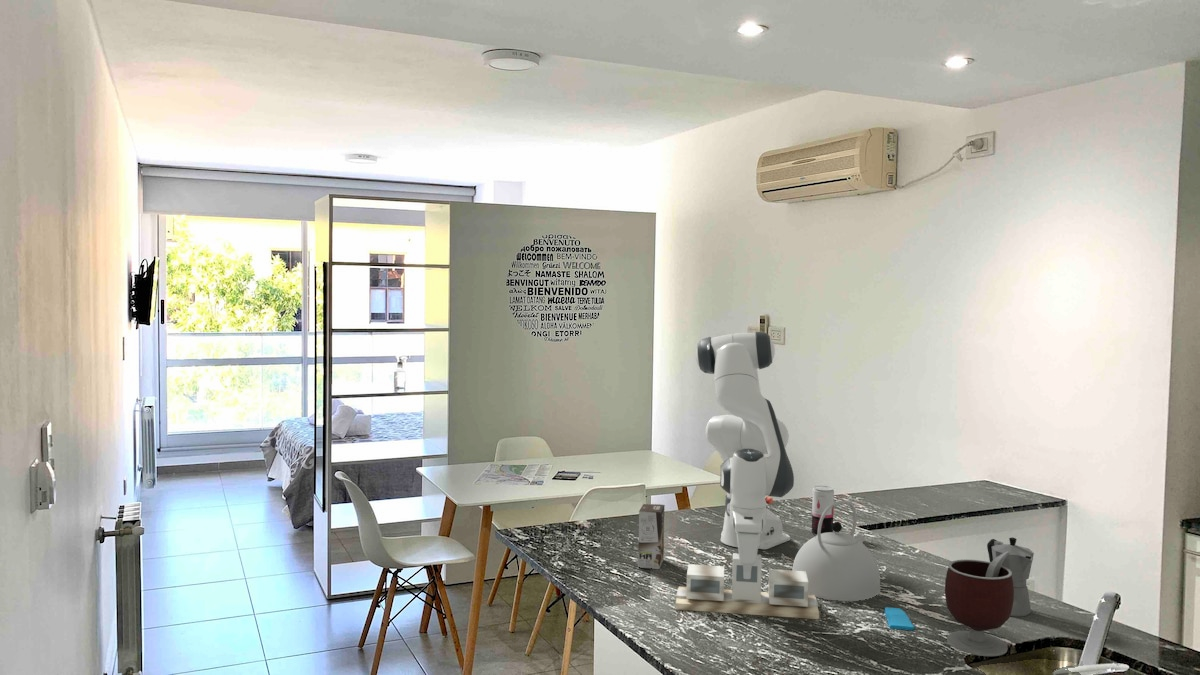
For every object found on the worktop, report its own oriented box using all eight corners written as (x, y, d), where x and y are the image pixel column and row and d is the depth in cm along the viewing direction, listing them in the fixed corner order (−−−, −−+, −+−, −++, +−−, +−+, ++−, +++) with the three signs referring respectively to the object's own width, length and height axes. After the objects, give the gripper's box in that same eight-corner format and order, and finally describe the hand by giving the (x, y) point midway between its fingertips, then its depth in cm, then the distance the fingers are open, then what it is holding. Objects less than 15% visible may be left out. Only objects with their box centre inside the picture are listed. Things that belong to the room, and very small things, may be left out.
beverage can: (837, 535, 275) (838, 488, 274) (823, 538, 271) (824, 491, 270) (821, 530, 280) (822, 484, 279) (807, 533, 276) (808, 487, 276)
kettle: (826, 564, 246) (828, 486, 244) (900, 585, 229) (903, 501, 228) (774, 584, 229) (776, 500, 227) (850, 608, 212) (853, 518, 211)
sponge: (909, 609, 210) (884, 604, 211) (916, 628, 198) (889, 622, 200) (908, 615, 210) (883, 610, 211) (915, 634, 198) (888, 629, 200)
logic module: (731, 592, 216) (732, 553, 215) (760, 594, 215) (761, 554, 214) (731, 598, 211) (732, 558, 211) (760, 600, 210) (761, 560, 210)
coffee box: (660, 569, 239) (661, 512, 238) (637, 567, 241) (638, 510, 240) (664, 559, 248) (665, 504, 247) (642, 557, 250) (643, 502, 249)
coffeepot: (1045, 618, 207) (1049, 544, 206) (1011, 621, 205) (1014, 546, 204) (1002, 595, 222) (1005, 526, 221) (970, 598, 220) (972, 528, 218)
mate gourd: (978, 662, 182) (982, 569, 181) (929, 637, 195) (932, 550, 193) (1031, 650, 188) (1035, 560, 187) (980, 627, 201) (983, 542, 200)
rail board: (675, 609, 210) (675, 576, 209) (678, 592, 222) (679, 561, 221) (819, 619, 205) (819, 585, 204) (814, 601, 216) (815, 569, 216)
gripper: (734, 505, 223) (733, 557, 223) (734, 526, 202) (733, 584, 203) (759, 506, 222) (758, 559, 222) (762, 528, 201) (760, 586, 202)
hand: (746, 571), depth 213 cm, fingers open, 8 cm apart
